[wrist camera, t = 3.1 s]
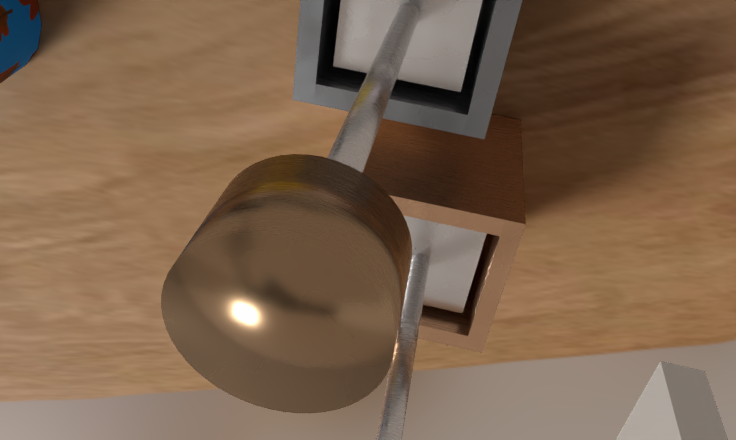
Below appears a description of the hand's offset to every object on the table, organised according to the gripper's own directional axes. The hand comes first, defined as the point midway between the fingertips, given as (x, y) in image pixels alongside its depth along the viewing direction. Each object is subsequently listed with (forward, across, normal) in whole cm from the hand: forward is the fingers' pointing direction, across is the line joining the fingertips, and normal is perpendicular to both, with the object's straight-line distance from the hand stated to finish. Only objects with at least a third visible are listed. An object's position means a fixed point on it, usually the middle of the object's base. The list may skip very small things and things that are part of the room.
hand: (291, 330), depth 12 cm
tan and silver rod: (+20, 0, 0) cm, 21 cm away
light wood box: (+31, +3, -14) cm, 34 cm away
